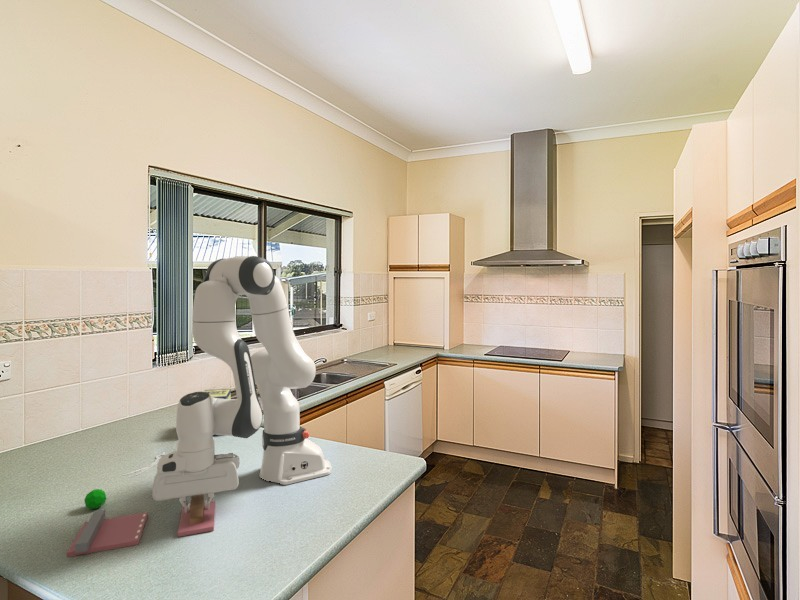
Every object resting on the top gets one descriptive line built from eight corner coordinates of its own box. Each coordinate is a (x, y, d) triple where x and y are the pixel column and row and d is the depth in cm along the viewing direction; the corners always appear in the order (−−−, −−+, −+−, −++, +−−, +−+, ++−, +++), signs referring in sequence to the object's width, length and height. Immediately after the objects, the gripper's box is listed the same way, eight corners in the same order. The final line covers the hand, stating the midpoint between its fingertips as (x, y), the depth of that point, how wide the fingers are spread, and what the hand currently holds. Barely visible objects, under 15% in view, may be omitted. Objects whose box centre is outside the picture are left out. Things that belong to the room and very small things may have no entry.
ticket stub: (215, 504, 127) (214, 484, 127) (213, 530, 114) (213, 508, 114) (183, 509, 124) (182, 489, 124) (177, 536, 111) (177, 514, 111)
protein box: (198, 437, 182) (197, 398, 181) (205, 425, 197) (204, 389, 196) (226, 435, 184) (226, 396, 183) (231, 423, 199) (230, 387, 199)
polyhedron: (102, 501, 130) (102, 484, 129) (109, 506, 126) (109, 489, 126) (82, 508, 126) (81, 491, 125) (88, 514, 123) (87, 496, 122)
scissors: (187, 455, 163) (138, 478, 144) (187, 457, 163) (138, 480, 144) (164, 452, 166) (113, 473, 147) (164, 454, 166) (113, 476, 147)
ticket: (148, 514, 123) (148, 502, 122) (137, 546, 108) (137, 533, 107) (86, 523, 118) (85, 512, 118) (65, 559, 103) (65, 546, 103)
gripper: (239, 447, 125) (240, 498, 126) (153, 458, 118) (155, 511, 119) (239, 456, 119) (240, 509, 120) (149, 467, 112) (151, 523, 113)
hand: (197, 510), depth 119 cm, fingers closed on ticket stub, 3 cm apart
